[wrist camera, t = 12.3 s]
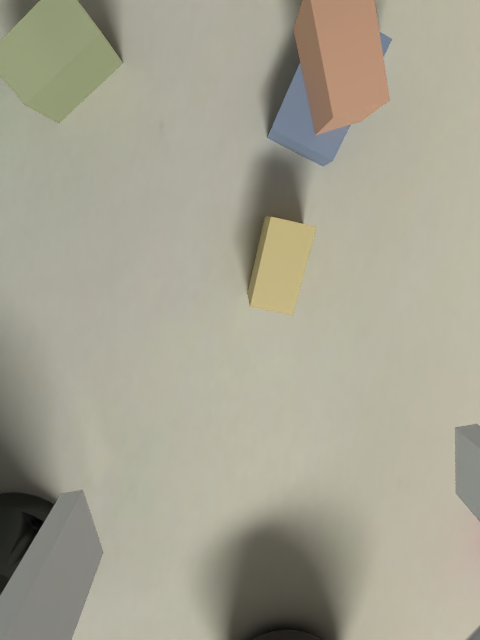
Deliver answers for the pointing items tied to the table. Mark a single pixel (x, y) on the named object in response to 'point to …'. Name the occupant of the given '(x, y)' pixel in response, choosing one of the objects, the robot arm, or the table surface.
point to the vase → (287, 635)
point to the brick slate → (307, 123)
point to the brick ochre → (280, 265)
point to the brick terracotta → (341, 61)
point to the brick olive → (56, 58)
